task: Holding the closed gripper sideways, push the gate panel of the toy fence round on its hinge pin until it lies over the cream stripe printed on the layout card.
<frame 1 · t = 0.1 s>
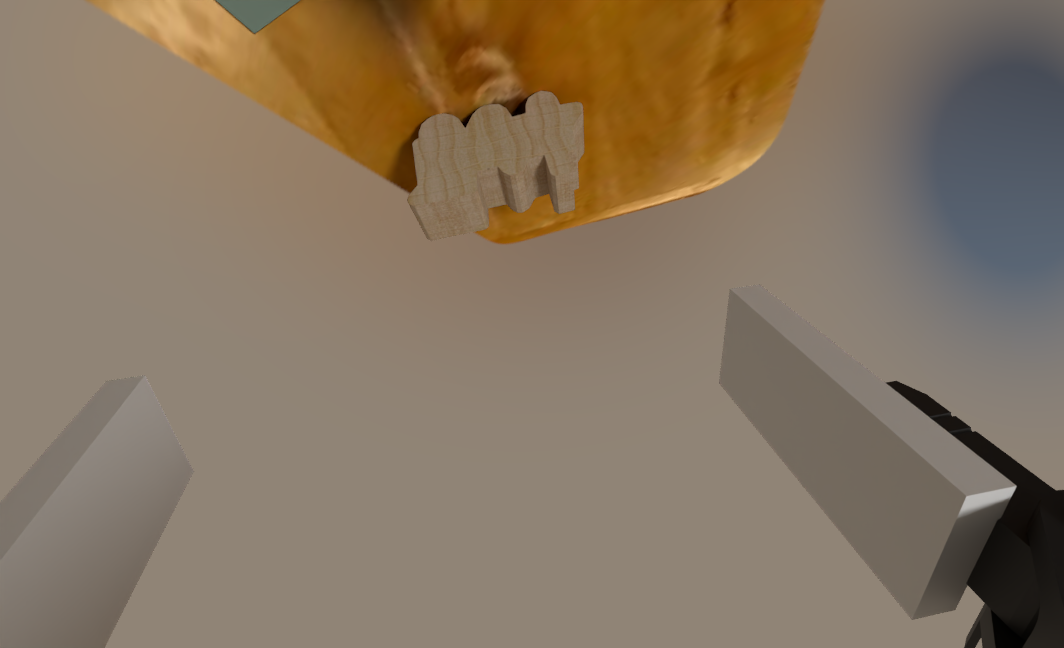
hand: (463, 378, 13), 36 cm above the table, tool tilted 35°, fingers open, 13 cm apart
toy train: (491, 123, 54), on the table
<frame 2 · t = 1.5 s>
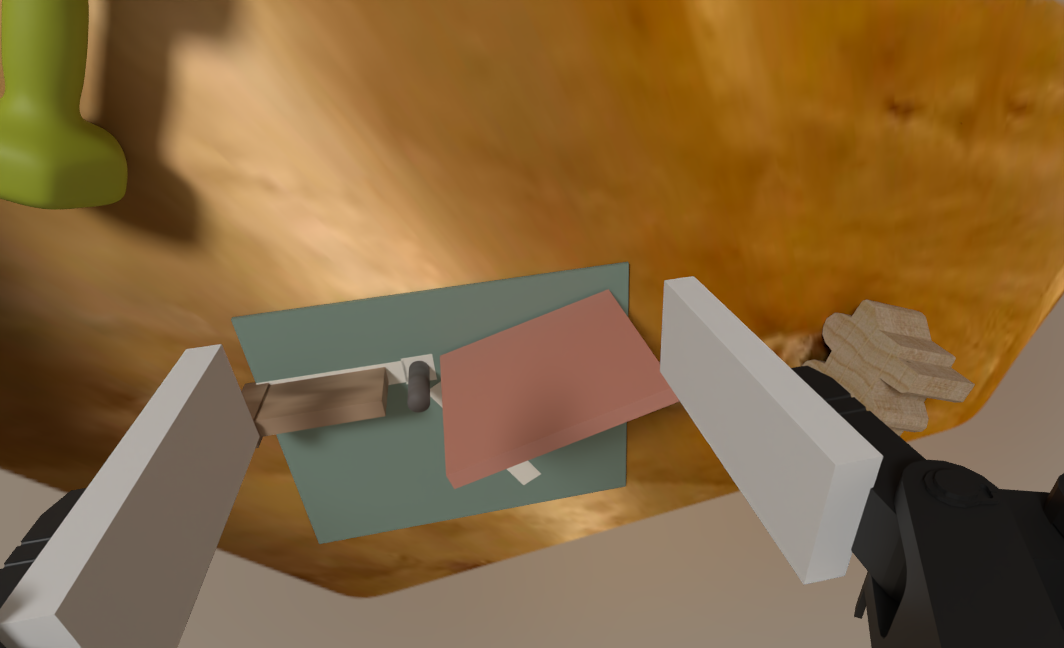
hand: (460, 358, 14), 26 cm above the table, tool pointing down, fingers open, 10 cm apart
fence wall: (419, 367, 44), resting on layout card
gate panel: (542, 375, 37), point 7 cm above the table, hinge at 0.0°
toy train: (820, 371, 52), on the table
dumbbell: (87, 33, 30), on the table
layout card: (459, 414, 46), on the table
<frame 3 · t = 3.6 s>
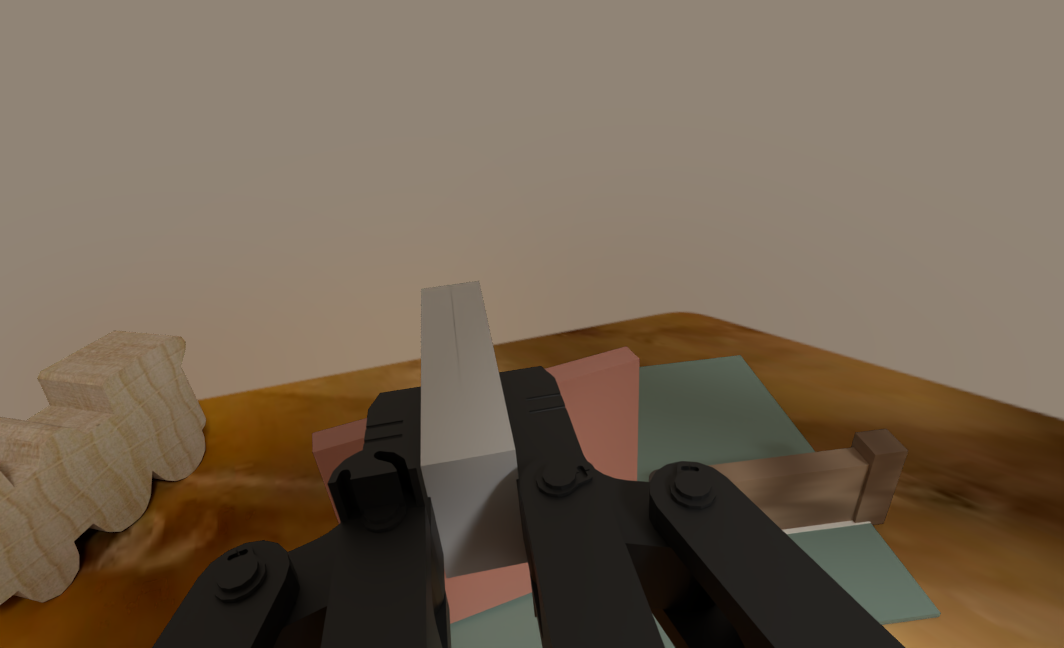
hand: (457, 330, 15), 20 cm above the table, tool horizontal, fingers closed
fence wall: (660, 539, 32), resting on layout card
gate panel: (501, 502, 26), point 7 cm above the table, hinge at 0.0°
toy train: (108, 518, 38), on the table
layout card: (600, 478, 37), on the table
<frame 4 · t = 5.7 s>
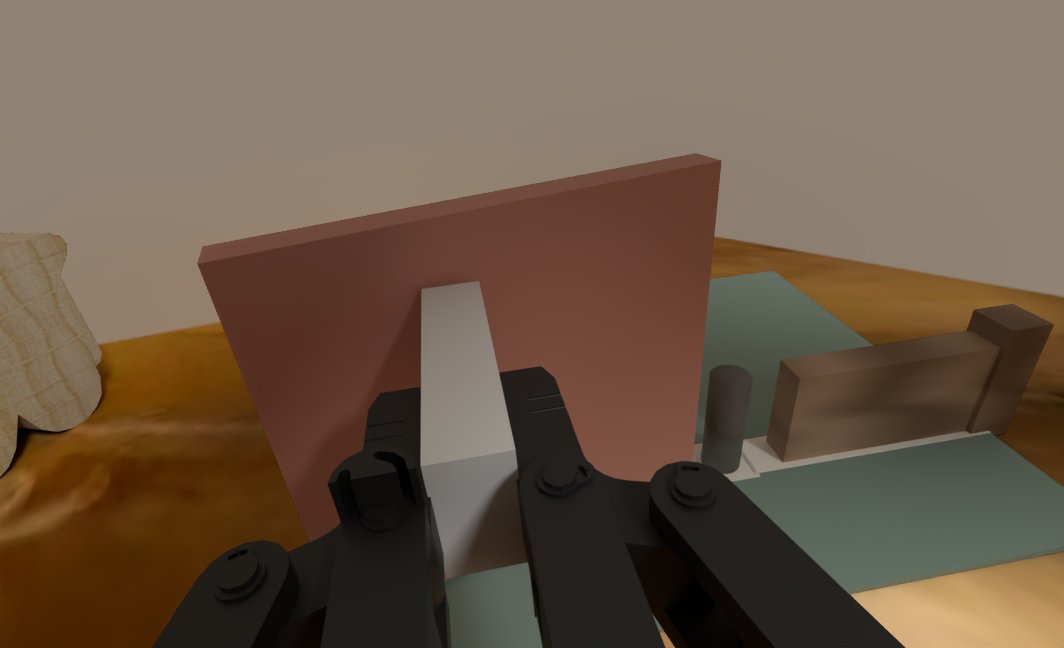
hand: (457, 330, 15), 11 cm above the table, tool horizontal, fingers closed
fence wall: (719, 466, 24), resting on layout card
gate panel: (513, 395, 18), point 7 cm above the table, hinge at 0.8°, touching gripper
layout card: (627, 402, 28), on the table
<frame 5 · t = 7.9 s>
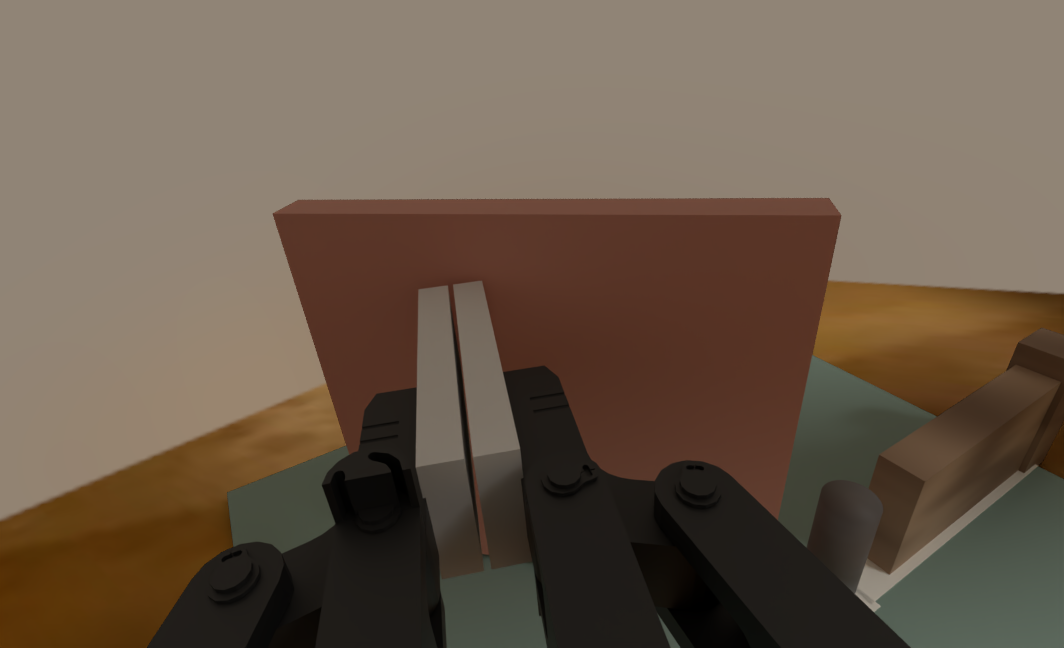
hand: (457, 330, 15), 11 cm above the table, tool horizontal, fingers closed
fence wall: (821, 602, 18), resting on layout card
gate panel: (544, 410, 17), point 7 cm above the table, hinge at 58.4°, touching gripper
layout card: (657, 529, 21), on the table
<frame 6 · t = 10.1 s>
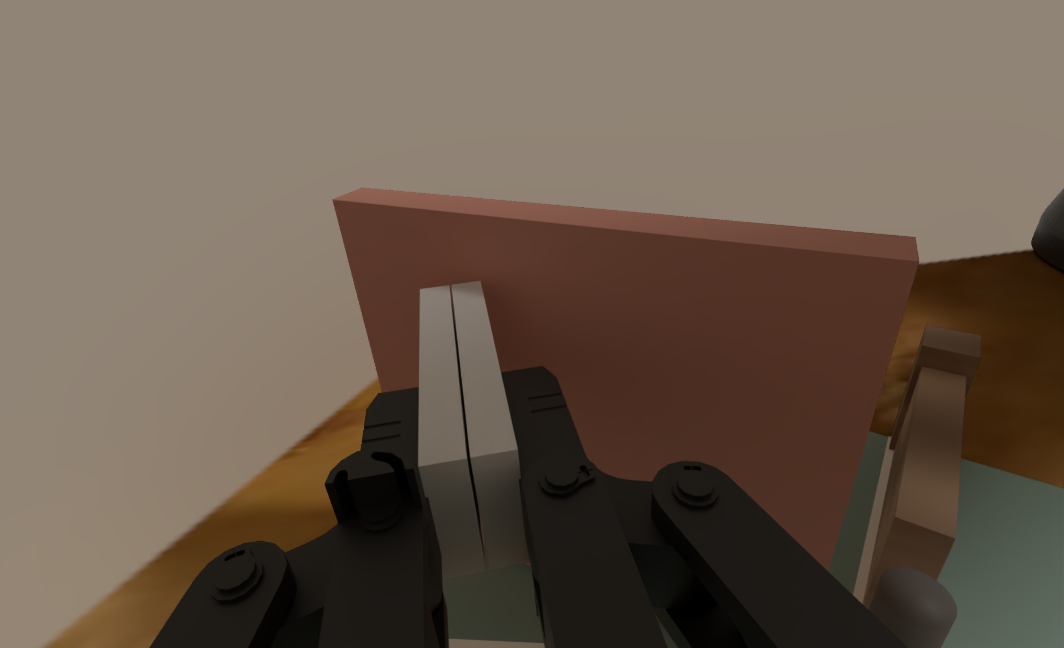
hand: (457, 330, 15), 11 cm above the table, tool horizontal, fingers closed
gate panel: (575, 427, 16), point 7 cm above the table, hinge at 97.7°, touching gripper
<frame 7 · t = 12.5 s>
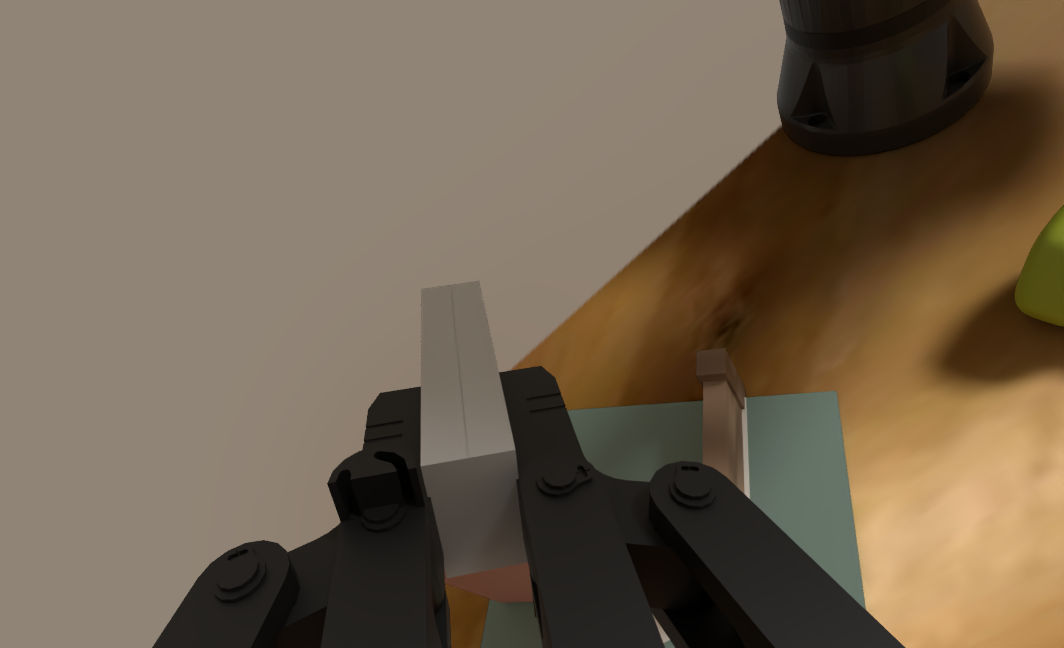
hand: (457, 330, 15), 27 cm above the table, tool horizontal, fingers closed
fence wall: (736, 585, 32), resting on layout card
gate panel: (544, 566, 31), point 7 cm above the table, hinge at 97.7°
layout card: (648, 621, 34), on the table
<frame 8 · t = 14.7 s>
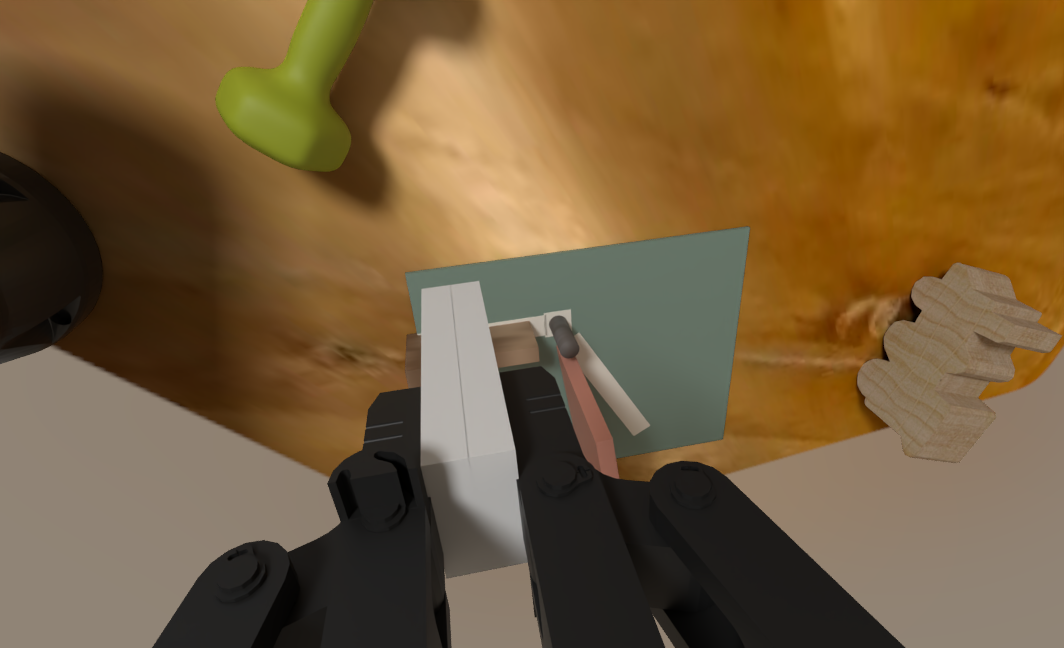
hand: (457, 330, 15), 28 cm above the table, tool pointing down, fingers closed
fence wall: (557, 321, 48), resting on layout card
gate panel: (593, 450, 47), point 7 cm above the table, hinge at 97.7°
toy train: (904, 332, 56), on the table
dumbbell: (338, 26, 36), on the table
layout card: (586, 366, 51), on the table
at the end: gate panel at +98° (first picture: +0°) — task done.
